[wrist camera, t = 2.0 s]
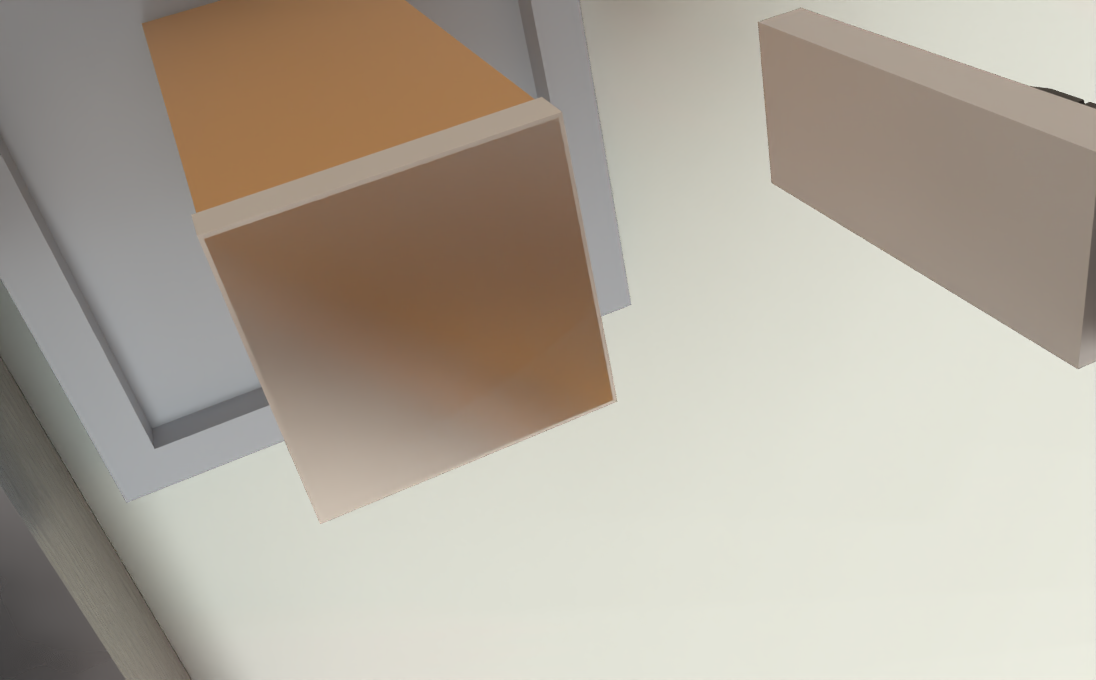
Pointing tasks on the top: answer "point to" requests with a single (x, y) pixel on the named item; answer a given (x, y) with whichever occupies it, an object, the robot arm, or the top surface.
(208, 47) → the plug
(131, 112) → the tray
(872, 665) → the top surface
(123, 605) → the slotted metal block
